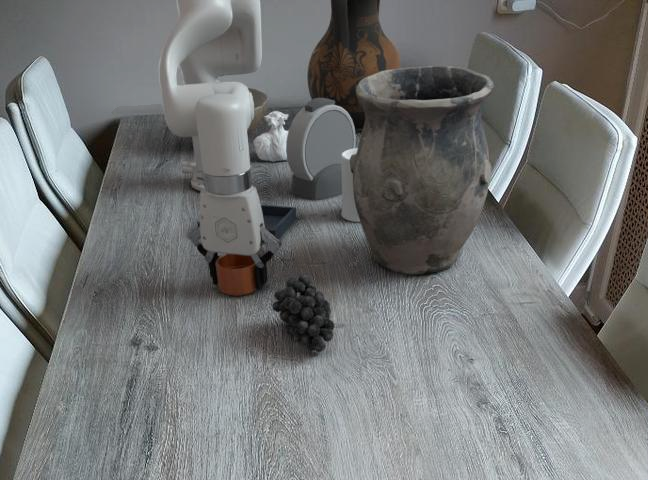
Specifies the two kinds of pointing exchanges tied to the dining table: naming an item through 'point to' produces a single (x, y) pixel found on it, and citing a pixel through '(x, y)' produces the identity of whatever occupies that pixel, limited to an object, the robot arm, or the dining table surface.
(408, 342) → the dining table surface
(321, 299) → the fruit
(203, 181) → the robot arm
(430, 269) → the clay pot
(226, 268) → the small bowl
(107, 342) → the dining table surface
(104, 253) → the dining table surface
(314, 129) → the alarm clock
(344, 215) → the mug
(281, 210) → the tray
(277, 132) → the bust
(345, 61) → the vase
